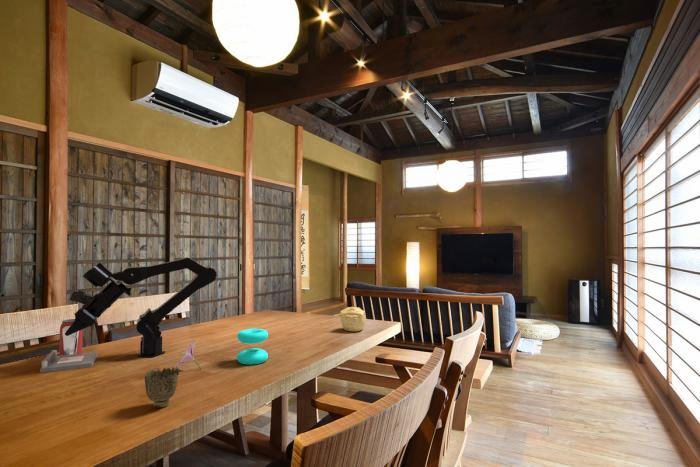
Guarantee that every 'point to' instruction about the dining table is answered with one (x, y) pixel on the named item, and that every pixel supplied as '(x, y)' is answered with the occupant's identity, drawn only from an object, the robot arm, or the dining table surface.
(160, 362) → the dining table surface
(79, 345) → the beer can
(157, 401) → the cup
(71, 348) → the milkshake
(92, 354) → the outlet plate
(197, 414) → the dining table surface
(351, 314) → the pale yellow rounded lump
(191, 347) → the lily
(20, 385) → the dining table surface
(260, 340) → the donuts
